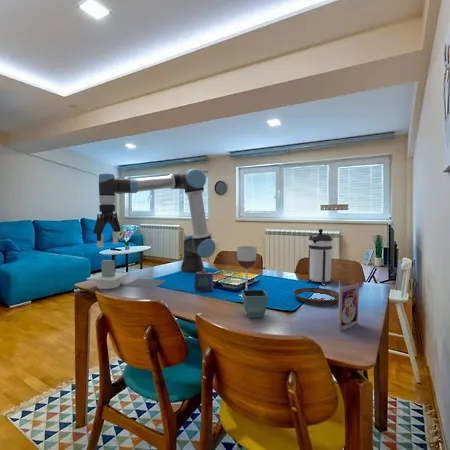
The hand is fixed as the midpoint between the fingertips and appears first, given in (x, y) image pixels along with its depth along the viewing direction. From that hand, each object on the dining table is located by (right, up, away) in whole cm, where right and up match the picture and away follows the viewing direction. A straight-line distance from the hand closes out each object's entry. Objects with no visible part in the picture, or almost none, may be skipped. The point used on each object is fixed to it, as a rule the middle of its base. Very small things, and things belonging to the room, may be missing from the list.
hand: (108, 245), depth 153 cm
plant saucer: (+102, -24, -18) cm, 106 cm away
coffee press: (+113, -22, +14) cm, 116 cm away
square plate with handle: (0, -16, +1) cm, 16 cm away
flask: (+50, -22, -5) cm, 54 cm away
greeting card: (+102, -25, -47) cm, 115 cm away
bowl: (0, -21, +1) cm, 21 cm away
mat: (+17, -21, +7) cm, 28 cm away
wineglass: (+70, -23, -14) cm, 75 cm away
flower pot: (+71, -25, -38) cm, 85 cm away
